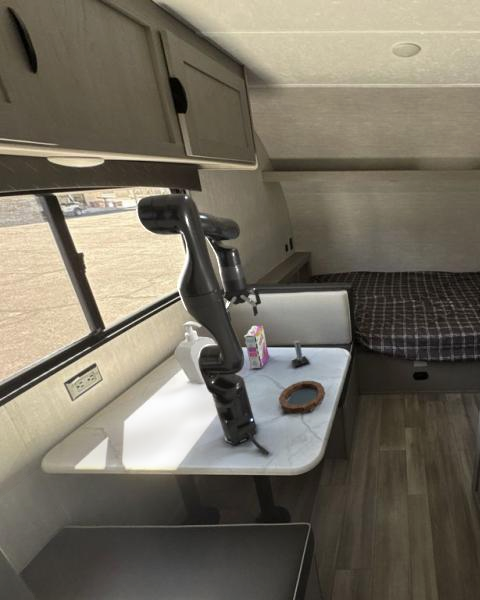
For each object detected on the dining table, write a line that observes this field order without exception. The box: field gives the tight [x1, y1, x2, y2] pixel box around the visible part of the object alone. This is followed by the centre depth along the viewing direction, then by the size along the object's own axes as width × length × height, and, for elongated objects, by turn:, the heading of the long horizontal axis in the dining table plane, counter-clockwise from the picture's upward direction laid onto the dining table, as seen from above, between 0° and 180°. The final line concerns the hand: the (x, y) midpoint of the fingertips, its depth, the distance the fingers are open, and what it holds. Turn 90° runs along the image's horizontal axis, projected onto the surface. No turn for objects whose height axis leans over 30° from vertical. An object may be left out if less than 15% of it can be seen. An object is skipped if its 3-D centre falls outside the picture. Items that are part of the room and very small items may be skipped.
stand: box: [291, 339, 310, 369], centre depth 139 cm, size 6×6×11 cm
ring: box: [278, 380, 326, 414], centre depth 117 cm, size 16×16×2 cm
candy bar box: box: [243, 324, 269, 370], centre depth 140 cm, size 11×5×16 cm, turn 6°
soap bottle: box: [173, 320, 216, 384], centre depth 129 cm, size 12×10×26 cm
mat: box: [282, 388, 318, 414], centre depth 117 cm, size 14×10×1 cm
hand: (243, 318), depth 116 cm, fingers open, 8 cm apart
